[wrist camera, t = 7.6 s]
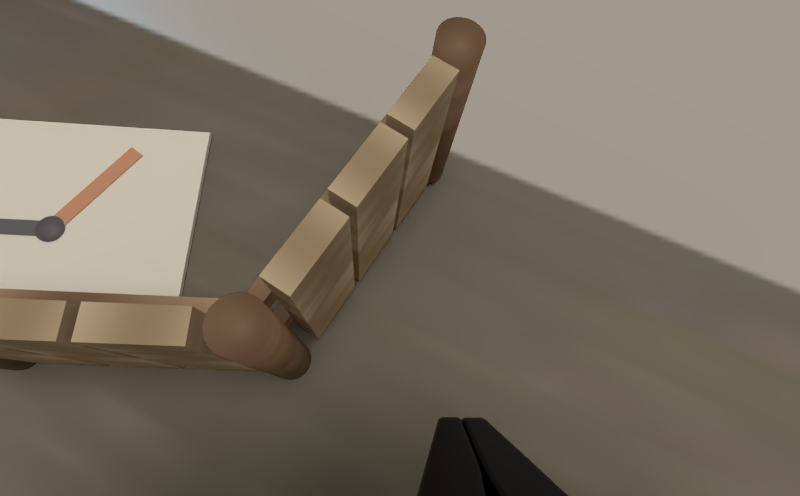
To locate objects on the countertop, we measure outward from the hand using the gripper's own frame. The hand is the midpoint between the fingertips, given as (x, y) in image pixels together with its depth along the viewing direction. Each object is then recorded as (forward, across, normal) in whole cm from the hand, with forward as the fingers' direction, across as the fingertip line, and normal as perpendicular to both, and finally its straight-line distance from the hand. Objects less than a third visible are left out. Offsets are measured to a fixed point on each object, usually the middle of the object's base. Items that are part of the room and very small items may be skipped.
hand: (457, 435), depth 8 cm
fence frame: (+10, -10, -6) cm, 16 cm away
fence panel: (+13, -2, -2) cm, 14 cm away
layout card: (+14, -17, -2) cm, 22 cm away
